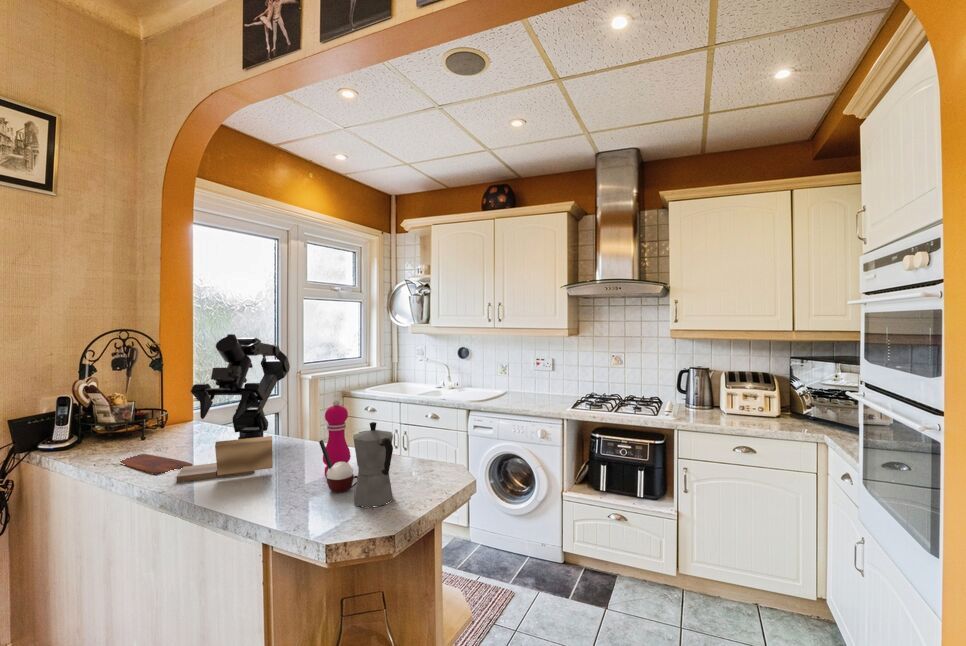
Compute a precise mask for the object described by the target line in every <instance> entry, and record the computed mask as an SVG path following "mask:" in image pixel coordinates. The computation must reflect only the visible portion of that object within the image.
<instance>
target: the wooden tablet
mask: <svg viewBox="0 0 966 646" xmlns="http://www.w3.org/2000/svg"><path fill="white" fill-rule="evenodd" d="M136 455H137V456H136ZM136 455H132V456H133V457H132V456H129V457H130V458H128V457H126V459H125V458H124V459H125V460H122V461H120V462H121V463H123V464H125V465H127V466H126V467H128V466H130V467H129V468H132V467H133V468H132V469H136V470H138V469H139V470H138V471H142V472H144V471H145V472H144V473H147V472H149V473H148V474H150V473H153V474H152V475H155V474H161V473H164V474H166V473H165V472H168V471H170V470H173V471H175V470H174V469H179V470H181V468H183V467H186V466H193V463H191V462H187V461H184V460H179V459H175V458H168V457H165V456H158V455H154V454H149V455H148V454H146V453H140V454H136ZM170 472H171V471H170ZM168 473H169V472H168ZM161 475H162V474H161Z"/></svg>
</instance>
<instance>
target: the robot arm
mask: <svg viewBox="0 0 966 646" xmlns="http://www.w3.org/2000/svg"><path fill="white" fill-rule="evenodd" d="M215 349H216V350H217V352H218V354H219V355H220V356H221V358H222V359H223V361H224V362H225V363H228V364H227V367H213V368H212V371H211V376H210V379H211V380H212V381H213V380H214V381H215V385H216V386H217V387H211V385H210V384H209V383H195V384H193V385H192V386H191V388H190V393H191V394H192V395H193V396H194V398H195V399H196V400H197V401H198V402H199V407H200V410H199V413H200V419H201V420H204V419H205V417H206V416H207V415H208V413H209V410H210V409H211V407H212V405H213V403H214V402H213V400H214V399H215V396H240V399H239V403H238V405H237V408H236V409H235V413H234V414H233V415H232V425H233V430H234V433H239V435H238V438H237V439H247V438H257V437H264V432H266V431H268V429H269V421H268V419H267V417H266V415H265V412H264V407H265V405H266V403H267V402H268V400H269V398H270V397H271V395H272V393H273V390H274V388H275V387H276V385H277V383H278V381H281V380H283V379H284V378H286V376H287V374H288V373H289V371H290V368H291V365H290V362H289V359H288V356H287V355H285V354H284V353H283V352H282V351H281V349H280V347H279V345H277V344H269V343H265V342H262V340H261V339H259V338H257V337H237V336H236V334H234V333H233V334H232V333H230V334H227V335H226V336H225V337H223V338H220V339H219V340H218V341H217V342H216V343H215ZM259 355H261V356H262V359H261V362H260V366H261V369H262V371H263V376H262V378H261V380H260V381H259V382H247V381H248V380H247V378H246V377H247V375H248V372H249V369H252V368H253V362H252V359H251V358H250V356H251V357H253V356H254V357H255V356H259ZM266 357H275V358H276V359H267V358H266ZM244 383H245V384H244ZM243 385H244V386H243Z"/></svg>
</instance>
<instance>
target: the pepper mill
mask: <svg viewBox="0 0 966 646" xmlns="http://www.w3.org/2000/svg"><path fill="white" fill-rule="evenodd" d="M348 417H349V412H348V409H347V408H346V407H345V406H343V405H341V402H340V400H338V399H334V400H333V402H332V406H330V407H328V408H327V409H326V410H325V413H324V420H325V421H326V422H327V423H326V430H327V431H328V438H327V443H326V445H325V447H326V450H327V453H328V455H329V458H330V461H331V463H332V466H333V465H334V464H335V463H337V462H346V463H349V461H350V460H351V451H350V448H349V444H347V440H346V436H345V429H347V423H346V420H347V419H348ZM322 462H323V464H325V467H324V475H325V476H326V477H327V471H328V469H329V468H328V465H327V462H326V460H325V457H324V454H323V453H322Z"/></svg>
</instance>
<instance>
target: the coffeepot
mask: <svg viewBox="0 0 966 646" xmlns="http://www.w3.org/2000/svg"><path fill="white" fill-rule="evenodd" d="M369 427H370V429H369V430H368V429H367V430H362V431H358V433H355V434H353V445H354V451H355V458H356V464H357V467H358V473H357V476H358V477H357V478H356V482H357V483H356V482H355V483H356V485H355V492H354V496H353V497H354V498H353V500H354V501H353V504H354V505H355V506H357V505H358V506H357V507H359V506H363V507H373V506H380V507H382V506H381V505H384V504H386V503H388V502H390V501H391V500H392V501H394V496H393V490H392V486H391V485H392V483H391V478H390V468H391V463H392V457H393V452H394V446H393V437H394V435H393V432H392V431H386V430H379V429H376V428H377V422H374V421H372V422H369ZM392 501H391V502H392ZM391 502H390V503H391ZM388 504H389V503H388ZM386 505H387V504H386ZM384 506H385V505H384ZM363 507H362V508H363Z"/></svg>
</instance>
